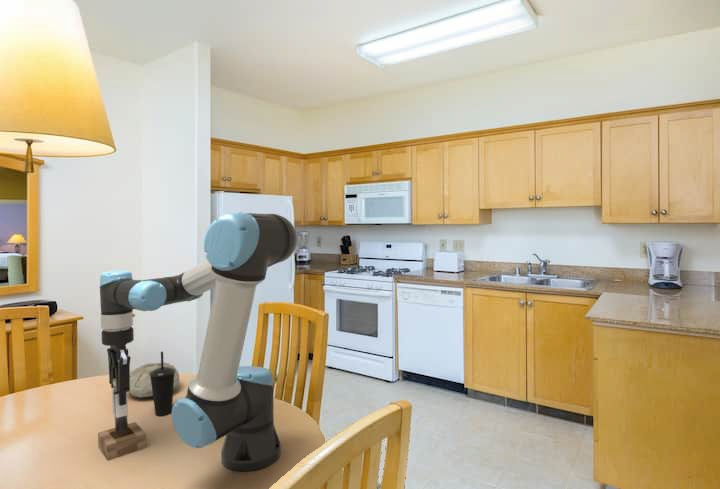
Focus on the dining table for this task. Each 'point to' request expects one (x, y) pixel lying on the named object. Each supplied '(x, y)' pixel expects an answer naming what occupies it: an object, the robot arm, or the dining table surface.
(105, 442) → the square wooden frame
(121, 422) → the metal cylinder
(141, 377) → the grey rounded lump
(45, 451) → the dining table surface
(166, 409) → the drinking cup
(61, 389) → the dining table surface
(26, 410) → the dining table surface
